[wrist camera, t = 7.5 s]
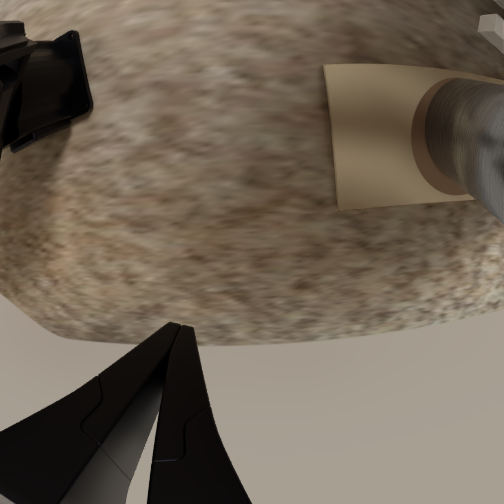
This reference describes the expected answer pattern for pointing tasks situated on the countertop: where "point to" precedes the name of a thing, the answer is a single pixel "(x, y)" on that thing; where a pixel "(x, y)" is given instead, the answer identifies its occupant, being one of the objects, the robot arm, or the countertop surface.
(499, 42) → the dollhouse
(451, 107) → the grey lidded jar
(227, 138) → the countertop surface
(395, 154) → the tan rectangular board
